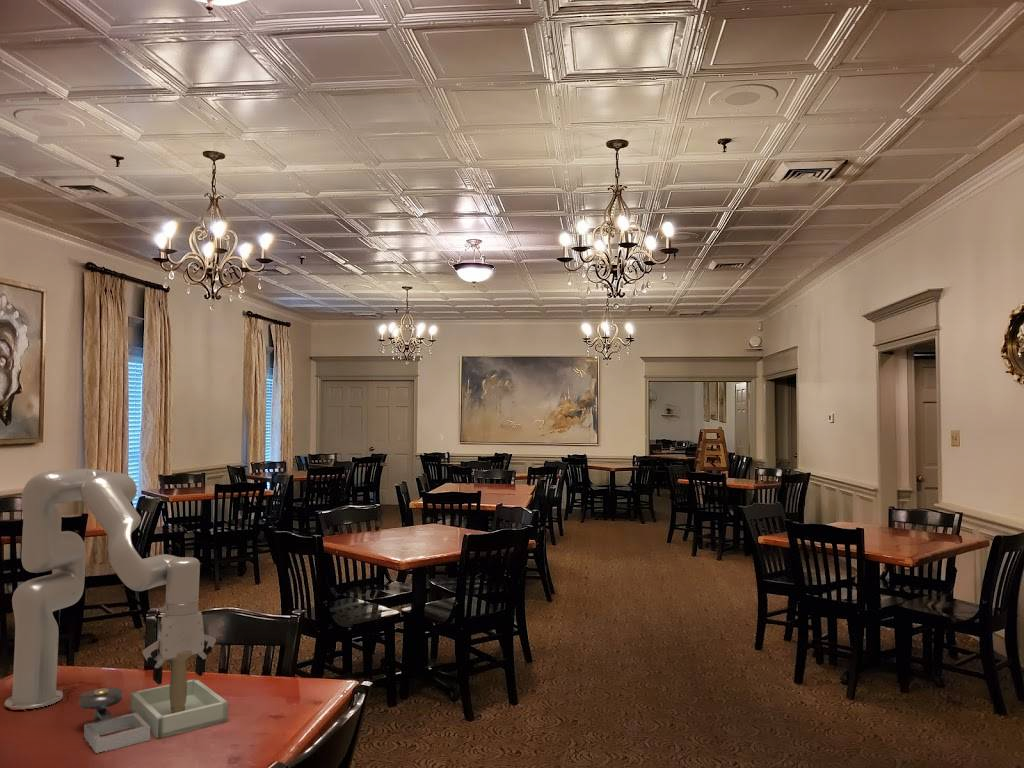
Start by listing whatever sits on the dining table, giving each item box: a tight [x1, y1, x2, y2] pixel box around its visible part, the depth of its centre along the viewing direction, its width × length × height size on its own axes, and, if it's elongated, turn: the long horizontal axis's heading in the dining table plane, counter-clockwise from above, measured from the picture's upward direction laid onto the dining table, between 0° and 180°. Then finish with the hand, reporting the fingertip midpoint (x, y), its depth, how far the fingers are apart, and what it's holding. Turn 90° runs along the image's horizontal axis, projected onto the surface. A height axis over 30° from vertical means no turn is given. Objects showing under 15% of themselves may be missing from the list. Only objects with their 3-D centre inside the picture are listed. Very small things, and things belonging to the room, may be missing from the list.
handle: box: [169, 651, 193, 713], centre depth 183 cm, size 5×6×15 cm
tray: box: [129, 678, 229, 740], centre depth 183 cm, size 22×16×4 cm
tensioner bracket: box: [78, 686, 151, 754], centre depth 173 cm, size 21×11×8 cm, turn 42°
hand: (178, 678), depth 184 cm, fingers open, 9 cm apart
